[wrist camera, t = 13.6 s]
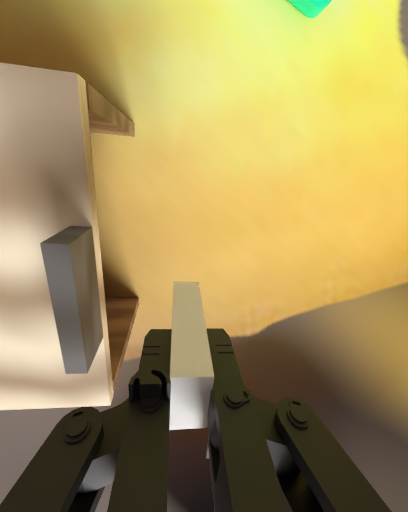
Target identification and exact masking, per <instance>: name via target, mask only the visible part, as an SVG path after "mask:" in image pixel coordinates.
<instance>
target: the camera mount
mask: <svg viewBox="0 0 408 512" xmlns="http://www.w3.org/2000/svg"><path fill="white" fill-rule="evenodd" d="M289 1H290V2H291V3H292V4H293V5H294V6H295V7H297V8H298V9H299V10H300V11H301V12H302V13H303V14H304V15H305V16H307V17H309V18H314V17H316V16H317V15H318V14H319V13H320V12H321V11H322V10H323V9H324V8H325V7H326V6H327V5H328V4H329V3H330V2H331V0H289Z"/></svg>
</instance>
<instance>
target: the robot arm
mask: <svg viewBox="0 0 408 512" xmlns="http://www.w3.org/2000/svg"><path fill="white" fill-rule="evenodd" d="M207 423H208V426H209V440H208V446H207V456H206V458H210V468H211V477H212V487H213V497H214V507H215V512H391V510H390V509H389V508H388V506H387V505H386V504H385V503H384V501H383V500H382V499H381V497H380V496H379V495H378V494H377V492H376V491H375V490H374V488H373V487H372V486H371V485H370V484H369V482H368V481H367V479H366V478H365V477H364V475H363V474H362V473H361V472H360V470H359V469H358V468H357V466H356V465H355V464H354V463H353V461H352V460H351V459H350V457H349V456H348V455H347V454H346V452H345V451H344V450H343V448H342V447H341V446H340V444H339V443H338V442H337V441H336V439H335V438H334V437H333V435H332V434H331V433H330V432H329V430H328V429H327V428H326V426H325V425H324V424H323V423H322V421H321V420H320V419H319V417H318V416H317V415H316V414H315V412H314V411H313V410H312V409H311V408H310V407H309V406H308V405H307V404H306V403H304V402H303V401H301V400H299V399H296V398H293V397H288V398H284V399H282V400H281V401H280V402H279V404H275V403H271V402H268V401H265V400H262V399H259V398H257V397H255V396H254V395H252V394H251V393H250V391H249V390H248V389H247V388H246V387H245V386H244V384H243V381H242V378H241V375H240V371H239V368H238V364H237V361H236V357H235V354H234V351H233V347H232V344H231V341H230V337H229V335H228V334H227V333H226V332H225V330H224V329H206V324H205V318H204V312H203V306H202V300H201V294H200V288H199V282H174V288H173V312H172V329H151V330H150V331H149V332H148V334H147V335H146V336H145V339H144V345H143V350H142V356H141V360H140V365H139V370H138V372H137V373H136V374H135V375H134V376H133V377H132V378H131V380H130V382H129V398H128V399H127V400H126V401H124V402H123V403H122V404H120V405H118V406H116V407H114V408H111V409H108V410H105V411H103V412H99V411H98V410H97V409H95V408H93V407H81V408H78V409H75V410H73V411H72V412H70V413H68V414H67V415H65V416H64V417H63V418H62V419H61V420H60V421H59V422H58V424H57V425H56V426H55V428H54V429H53V430H52V432H51V433H50V435H49V436H48V438H47V439H46V440H45V442H44V443H43V445H42V446H41V447H40V449H39V450H38V452H37V453H36V455H35V456H34V457H33V459H32V460H31V462H30V463H29V465H28V466H27V467H26V469H25V470H24V472H23V473H22V475H21V476H20V478H19V479H18V480H17V482H16V483H15V485H14V486H13V488H12V489H11V490H10V492H9V493H8V495H7V496H6V497H5V499H4V500H3V502H2V503H1V505H0V512H95V510H96V507H97V505H98V502H99V500H100V498H101V495H102V493H103V490H104V488H105V486H106V485H108V484H110V483H112V482H113V486H112V491H111V496H110V501H109V506H108V510H107V512H167V485H168V456H169V455H168V453H169V430H176V429H191V428H192V429H193V428H207Z"/></svg>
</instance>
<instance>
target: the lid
mask: <svg viewBox="0 0 408 512" xmlns="http://www.w3.org/2000/svg"><path fill="white" fill-rule="evenodd" d="M112 398H113V382H112V371H111V360H110V349H109V338H108V327H107V316H106V305H105V294H104V283H103V272H102V261H101V250H100V239H99V228H98V217H97V205H96V194H95V183H94V172H93V161H92V150H91V139H90V128H89V117H88V106H87V95H86V84H85V80H84V79H83V78H82V77H81V76H80V75H78V74H77V73H73V72H66V71H58V70H51V69H44V68H37V67H30V66H22V65H15V64H8V63H1V62H0V410H15V409H39V408H62V407H86V406H109V405H111V401H112Z"/></svg>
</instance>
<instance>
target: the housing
mask: <svg viewBox="0 0 408 512" xmlns="http://www.w3.org/2000/svg"><path fill="white" fill-rule="evenodd" d="M85 84H86V95H87V106H88V117H89V128H90V132H97V133H106V134H116V135H125V136H134V123H133V122H132V121H131V120H130V119H128V118H127V117H126V116H125V115H124V114H123V113H122V112H120V111H119V110H118V109H117V108H116V107H115V106H114V105H112V104H111V103H110V102H109V101H108V100H107V99H106V98H105V97H103V96H102V95H101V94H100V93H99V92H98V91H97V90H95V89H94V88H93V87H92V86H91V85H90V84H89V83H87V82H85ZM105 305H106V316H107V327H108V338H109V349H110V360H111V371H112V382H113V391H114V390H115V387H116V384H117V380H118V376H119V373H120V369H121V365H122V362H123V359H124V355H125V352H126V348H127V344H128V341H129V337H130V334H131V330H132V327H133V323H134V320H135V316H136V312H137V309H138V305H139V299H138V298H130V297H105Z"/></svg>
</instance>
